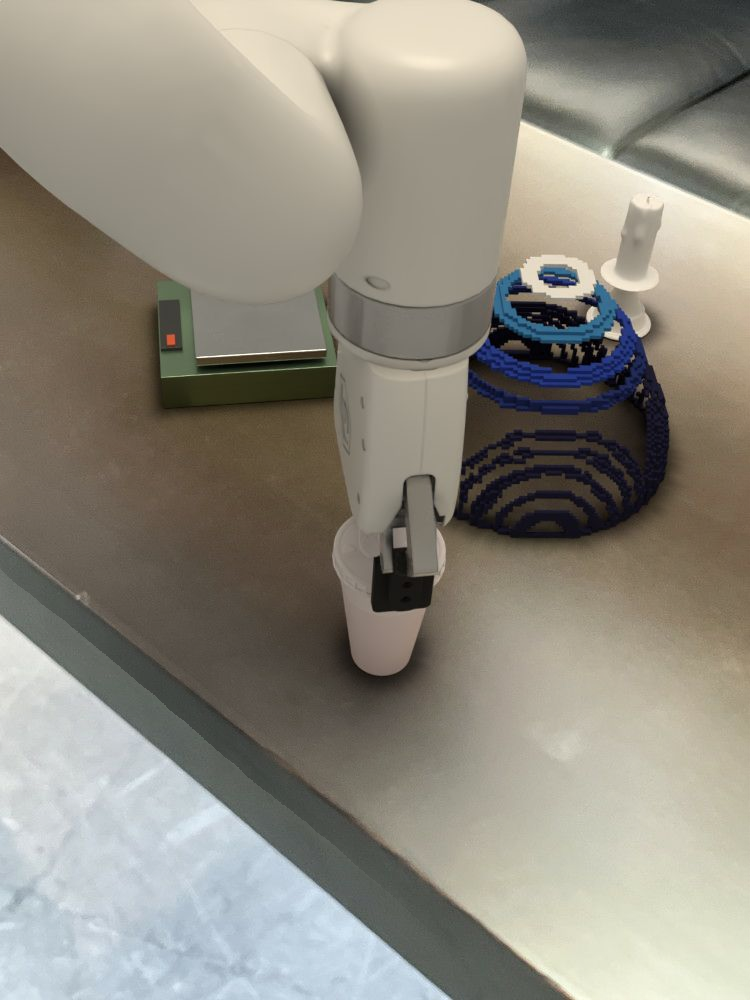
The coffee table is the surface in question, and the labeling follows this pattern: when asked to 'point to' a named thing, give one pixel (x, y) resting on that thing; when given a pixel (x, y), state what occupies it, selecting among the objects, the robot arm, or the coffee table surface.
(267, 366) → the scale
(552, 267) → the decorative bowl
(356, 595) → the smoothie
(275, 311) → the scale platform
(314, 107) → the robot arm
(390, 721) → the coffee table surface
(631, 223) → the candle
